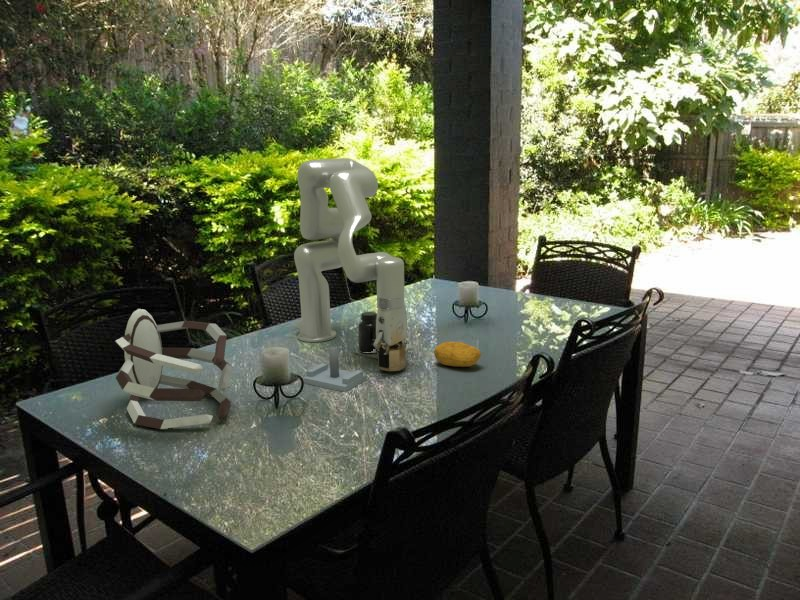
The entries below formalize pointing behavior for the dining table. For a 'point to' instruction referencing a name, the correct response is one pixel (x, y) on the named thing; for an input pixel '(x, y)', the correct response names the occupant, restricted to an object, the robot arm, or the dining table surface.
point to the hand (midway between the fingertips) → (391, 362)
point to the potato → (457, 354)
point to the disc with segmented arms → (150, 357)
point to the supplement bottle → (367, 331)
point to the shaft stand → (334, 375)
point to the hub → (395, 357)
